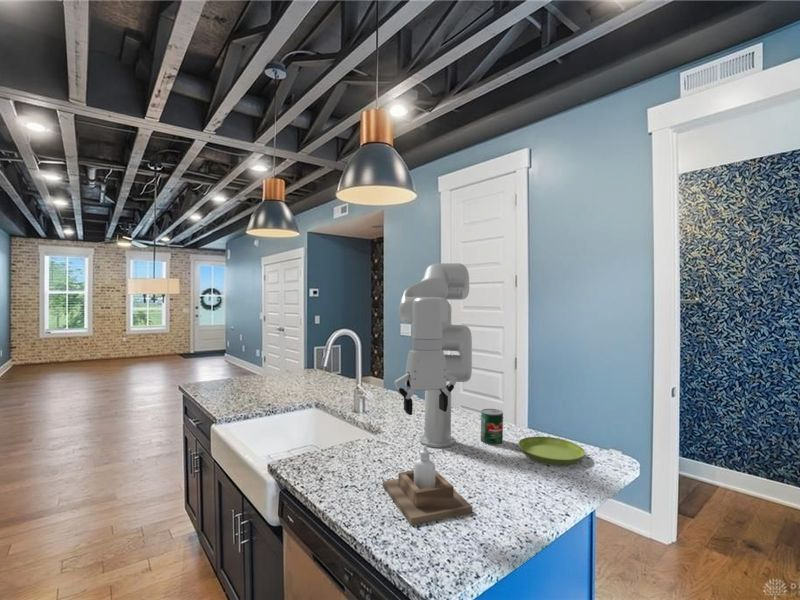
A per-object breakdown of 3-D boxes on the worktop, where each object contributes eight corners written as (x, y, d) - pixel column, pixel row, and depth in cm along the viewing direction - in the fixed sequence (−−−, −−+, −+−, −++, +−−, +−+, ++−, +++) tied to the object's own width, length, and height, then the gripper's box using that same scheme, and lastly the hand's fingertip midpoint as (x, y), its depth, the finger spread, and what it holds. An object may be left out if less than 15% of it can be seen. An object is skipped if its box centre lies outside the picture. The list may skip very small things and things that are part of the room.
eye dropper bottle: (426, 486, 107) (427, 441, 107) (437, 496, 101) (437, 448, 102) (412, 489, 105) (412, 443, 105) (421, 499, 100) (422, 450, 100)
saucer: (505, 449, 140) (506, 439, 140) (553, 442, 147) (553, 433, 147) (547, 473, 120) (547, 462, 121) (599, 464, 128) (599, 454, 128)
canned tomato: (493, 447, 141) (494, 415, 141) (476, 440, 147) (476, 410, 147) (507, 442, 146) (507, 412, 146) (489, 436, 152) (490, 407, 152)
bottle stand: (382, 486, 109) (382, 468, 109) (435, 478, 115) (435, 460, 115) (410, 525, 91) (411, 502, 91) (472, 512, 97) (472, 491, 97)
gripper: (449, 343, 110) (449, 405, 110) (390, 344, 104) (389, 411, 104) (463, 346, 103) (462, 412, 103) (400, 348, 97) (399, 419, 97)
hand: (426, 412), depth 103 cm, fingers open, 9 cm apart
